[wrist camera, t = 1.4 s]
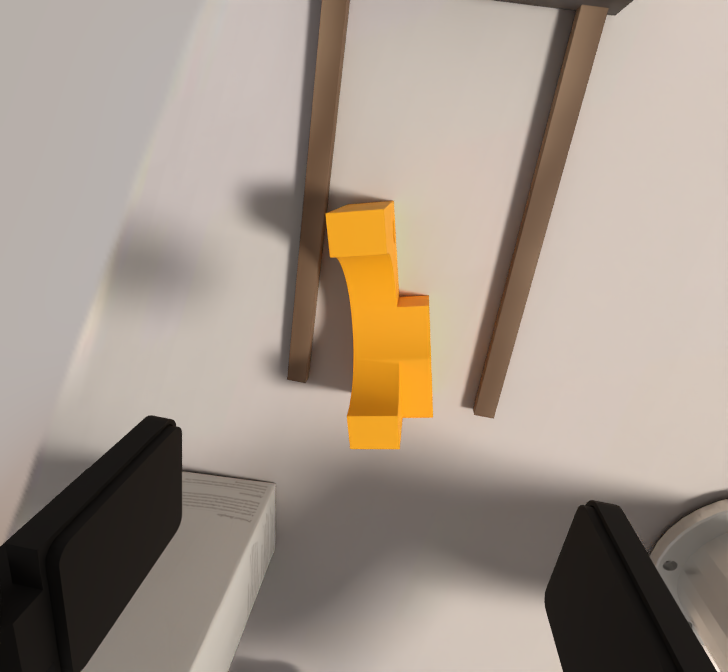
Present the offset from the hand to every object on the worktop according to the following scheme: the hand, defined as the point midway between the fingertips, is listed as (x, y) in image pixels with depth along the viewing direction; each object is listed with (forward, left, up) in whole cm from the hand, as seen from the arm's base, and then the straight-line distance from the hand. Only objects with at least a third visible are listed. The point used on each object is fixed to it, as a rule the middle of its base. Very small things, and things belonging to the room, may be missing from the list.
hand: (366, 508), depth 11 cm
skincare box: (+10, +18, -18) cm, 28 cm away
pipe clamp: (+1, 0, -18) cm, 18 cm away
